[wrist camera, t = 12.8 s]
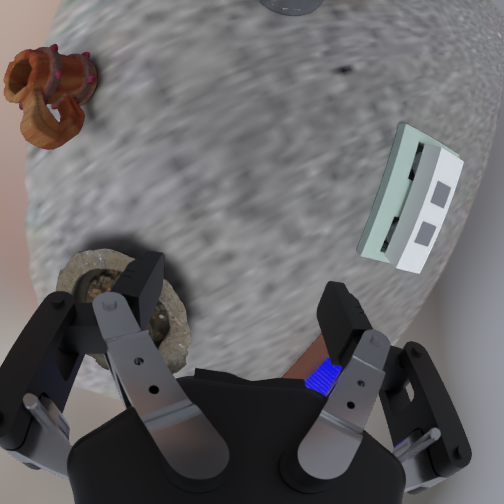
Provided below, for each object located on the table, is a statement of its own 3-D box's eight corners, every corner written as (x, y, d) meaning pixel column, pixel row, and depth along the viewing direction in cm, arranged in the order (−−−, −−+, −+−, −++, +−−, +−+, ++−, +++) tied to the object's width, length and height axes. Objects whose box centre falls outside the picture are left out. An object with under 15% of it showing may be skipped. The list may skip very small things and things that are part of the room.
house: (376, 331, 50) (397, 374, 39) (321, 387, 58) (330, 428, 47) (333, 316, 47) (351, 364, 37) (278, 378, 55) (283, 423, 45)
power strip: (413, 140, 33) (442, 147, 26) (435, 153, 33) (464, 162, 27) (376, 246, 40) (396, 268, 34) (399, 252, 41) (420, 274, 35)
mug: (56, 73, 26) (-11, 69, 12) (96, 44, 25) (32, 23, 11) (80, 149, 32) (12, 172, 19) (122, 123, 31) (57, 131, 18)
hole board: (399, 123, 31) (406, 123, 30) (452, 153, 33) (459, 155, 31) (356, 250, 41) (360, 256, 39) (410, 263, 42) (415, 269, 40)
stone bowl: (125, 358, 51) (110, 389, 43) (57, 263, 43) (29, 286, 34) (223, 332, 47) (217, 370, 38) (149, 206, 38) (122, 225, 30)
